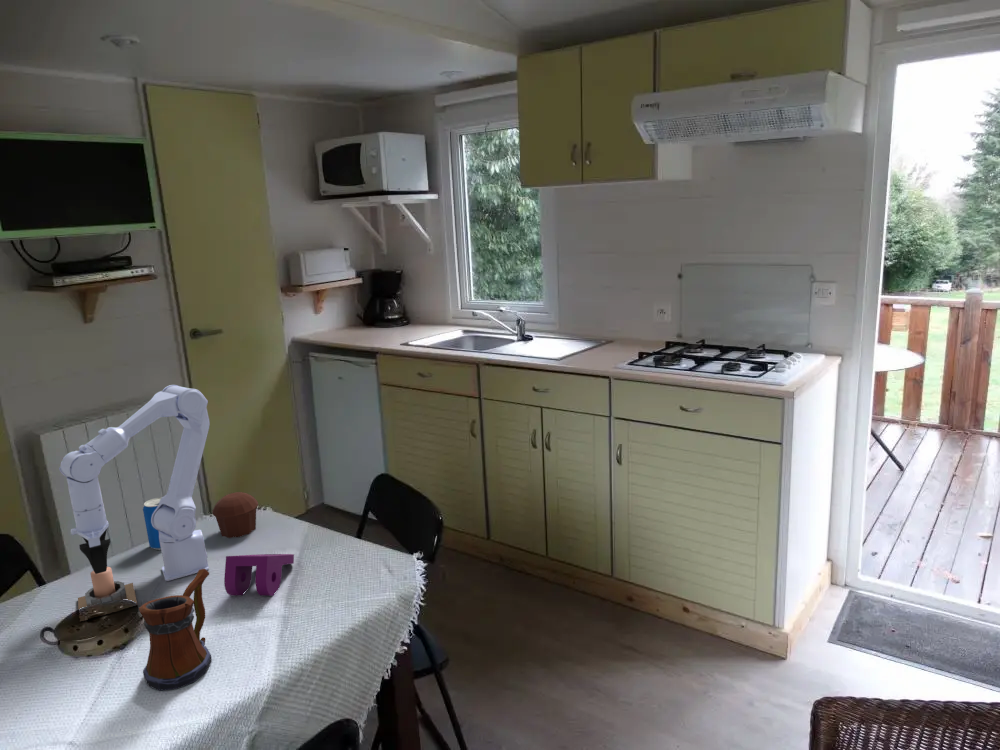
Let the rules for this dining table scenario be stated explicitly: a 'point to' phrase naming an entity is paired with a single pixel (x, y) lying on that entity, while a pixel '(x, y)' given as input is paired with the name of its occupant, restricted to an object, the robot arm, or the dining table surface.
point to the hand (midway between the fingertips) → (100, 565)
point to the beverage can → (151, 531)
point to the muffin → (236, 514)
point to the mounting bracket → (266, 573)
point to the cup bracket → (120, 594)
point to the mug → (176, 638)
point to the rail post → (103, 583)
